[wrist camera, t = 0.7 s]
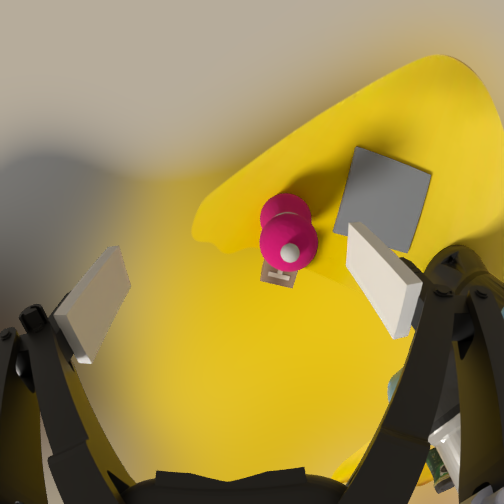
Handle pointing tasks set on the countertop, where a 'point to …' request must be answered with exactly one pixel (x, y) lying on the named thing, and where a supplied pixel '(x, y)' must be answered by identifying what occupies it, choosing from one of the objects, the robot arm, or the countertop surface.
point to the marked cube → (277, 276)
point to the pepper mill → (287, 233)
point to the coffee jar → (439, 471)
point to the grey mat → (383, 198)
